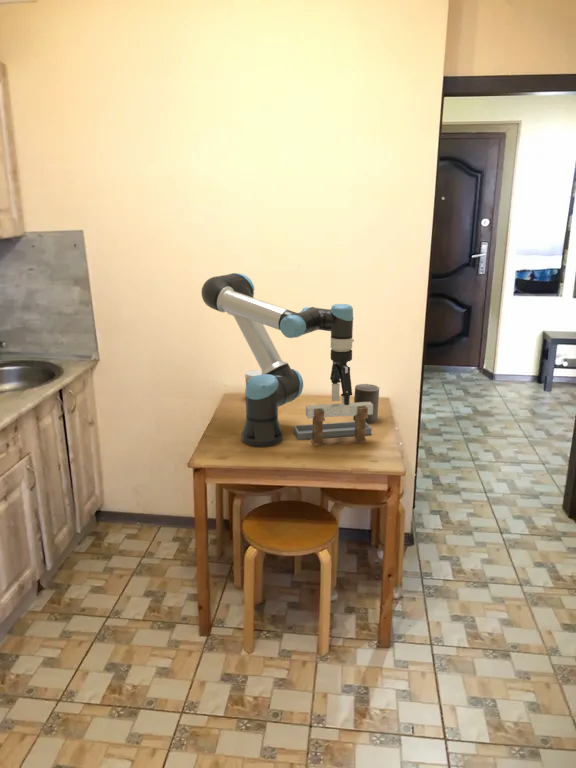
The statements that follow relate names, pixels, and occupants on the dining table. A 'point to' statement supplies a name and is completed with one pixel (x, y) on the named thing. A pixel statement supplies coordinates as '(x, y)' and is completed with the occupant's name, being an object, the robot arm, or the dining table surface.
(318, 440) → the rack
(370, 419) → the pillar candle
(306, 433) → the tray
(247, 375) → the coffee cup
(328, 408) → the rail
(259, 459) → the dining table surface
